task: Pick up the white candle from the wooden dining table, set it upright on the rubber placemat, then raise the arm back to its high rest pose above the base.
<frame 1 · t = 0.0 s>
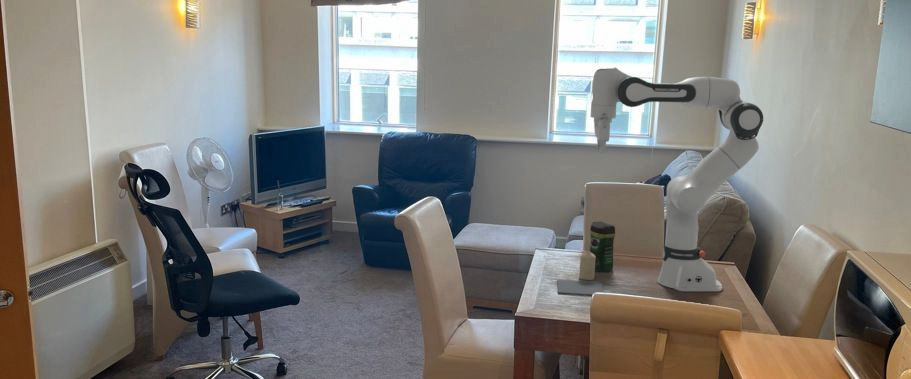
hand: (600, 151, 251), 48 cm above the table, tool pointing down, fingers open, 8 cm apart
candle: (586, 278, 260), on the table
placemat: (580, 288, 248), on the table
coffee jar: (600, 269, 272), on the table
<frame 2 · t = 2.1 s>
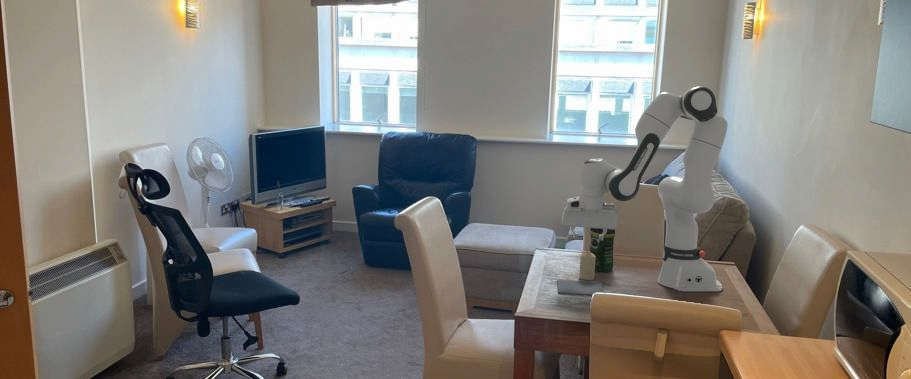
hand: (588, 239, 257), 15 cm above the table, tool pointing down, fingers open, 8 cm apart
nothing on the table moved.
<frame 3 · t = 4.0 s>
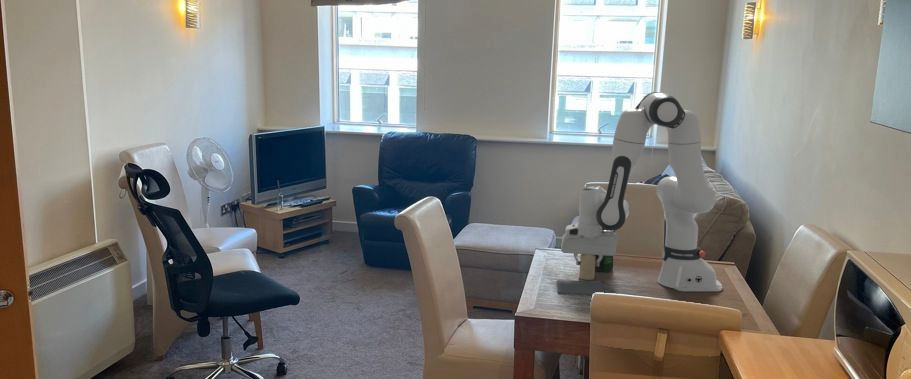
hand: (587, 265, 259), 5 cm above the table, tool pointing down, fingers closed on candle, 5 cm apart
candle: (586, 278, 260), on the table, touching gripper
everything else where it was.
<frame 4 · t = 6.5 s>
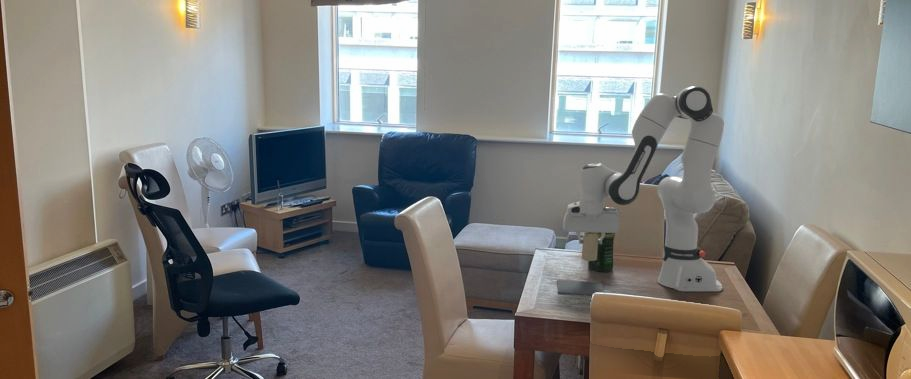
hand: (590, 243, 257), 13 cm above the table, tool pointing down, fingers closed on candle, 5 cm apart
candle: (589, 259, 259), point 7 cm above the table, touching gripper
everything else where it was.
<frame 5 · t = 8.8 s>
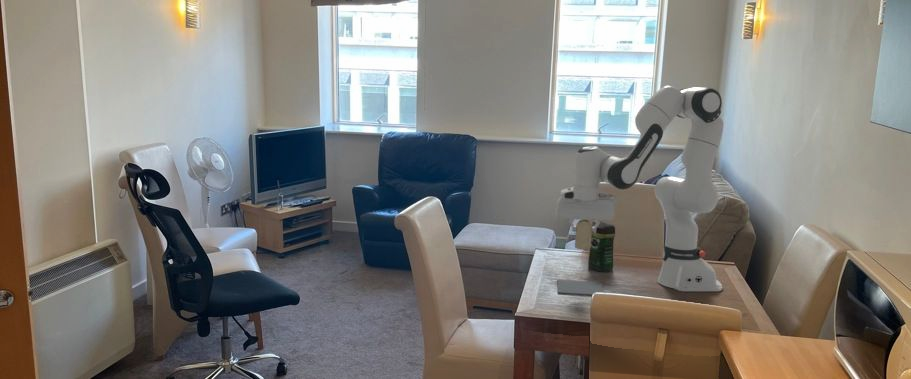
hand: (583, 231, 244), 21 cm above the table, tool pointing down, fingers closed on candle, 5 cm apart
candle: (582, 248, 245), point 15 cm above the table, touching gripper
everything else where it was.
when the fingers open (7 cm above the table, at t = 12.3 s): candle stays where it is, resting on placemat.
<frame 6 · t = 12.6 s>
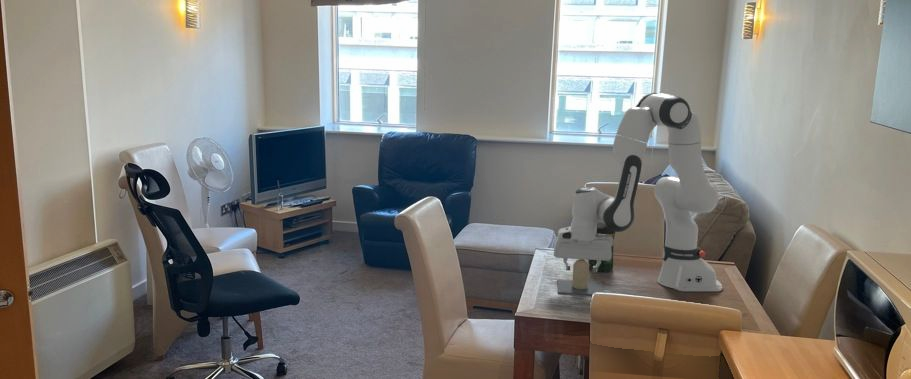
hand: (581, 270, 247), 7 cm above the table, tool pointing down, fingers open, 8 cm apart
candle: (580, 287, 248), resting on placemat
everything else where it was.
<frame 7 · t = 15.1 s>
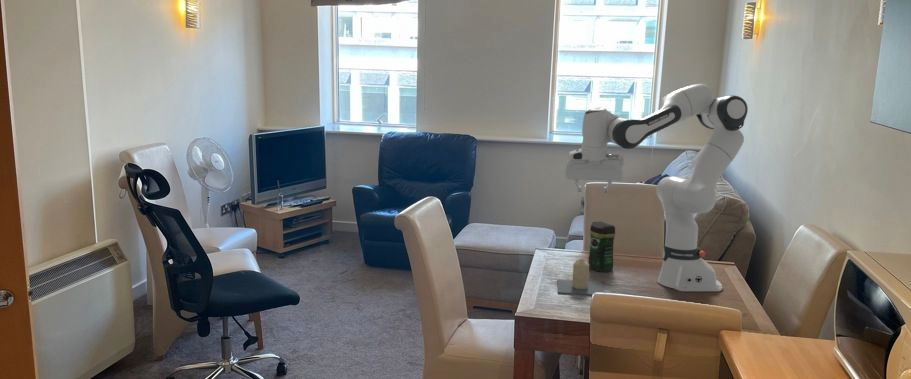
hand: (592, 191, 250), 34 cm above the table, tool pointing down, fingers open, 8 cm apart
nothing on the table moved.
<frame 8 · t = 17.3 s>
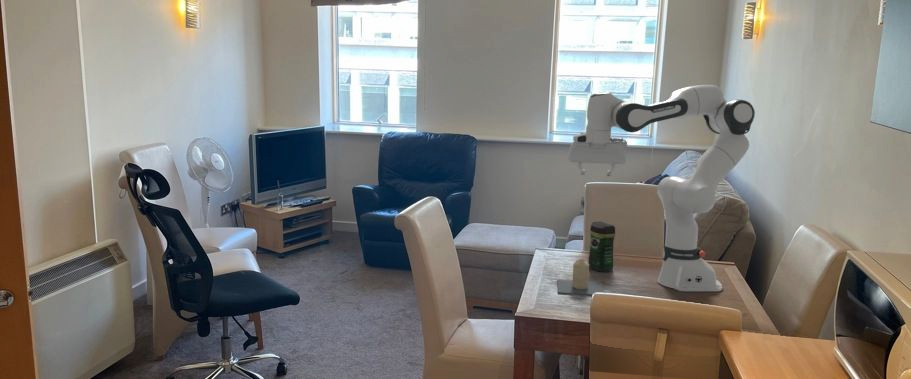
hand: (595, 175, 253), 39 cm above the table, tool pointing down, fingers open, 8 cm apart
nothing on the table moved.
at the end: candle inside the target area on the placemat (0.1 cm from its centre), point 0.4 cm above the placemat's base; candle tilted 0°; the gripper is holding nothing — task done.
